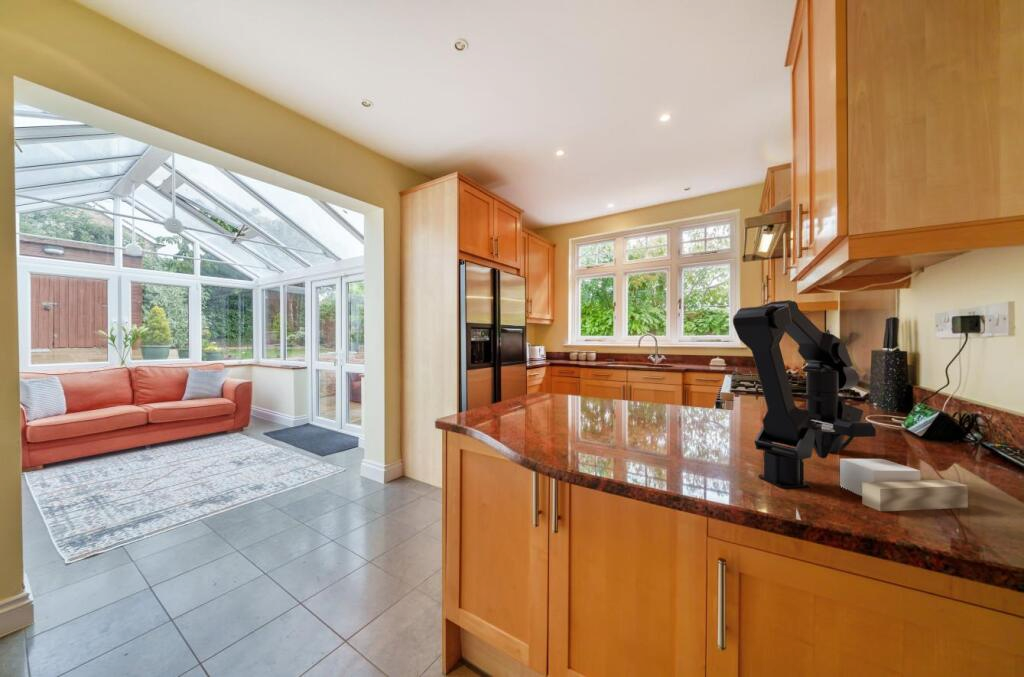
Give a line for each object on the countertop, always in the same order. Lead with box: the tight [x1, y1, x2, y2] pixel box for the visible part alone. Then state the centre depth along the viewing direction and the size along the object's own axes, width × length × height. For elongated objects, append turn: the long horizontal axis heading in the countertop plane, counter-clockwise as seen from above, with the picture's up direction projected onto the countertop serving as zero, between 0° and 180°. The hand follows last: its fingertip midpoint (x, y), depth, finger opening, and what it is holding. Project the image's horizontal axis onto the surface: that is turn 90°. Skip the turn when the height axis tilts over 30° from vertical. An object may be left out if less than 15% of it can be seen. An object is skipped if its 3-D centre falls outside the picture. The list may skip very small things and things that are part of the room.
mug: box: [813, 419, 855, 454], centre depth 101 cm, size 8×12×10 cm
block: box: [839, 458, 921, 497], centre depth 72 cm, size 9×7×6 cm
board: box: [861, 479, 969, 512], centre depth 67 cm, size 18×3×4 cm, turn 96°
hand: (822, 457), depth 84 cm, fingers closed
